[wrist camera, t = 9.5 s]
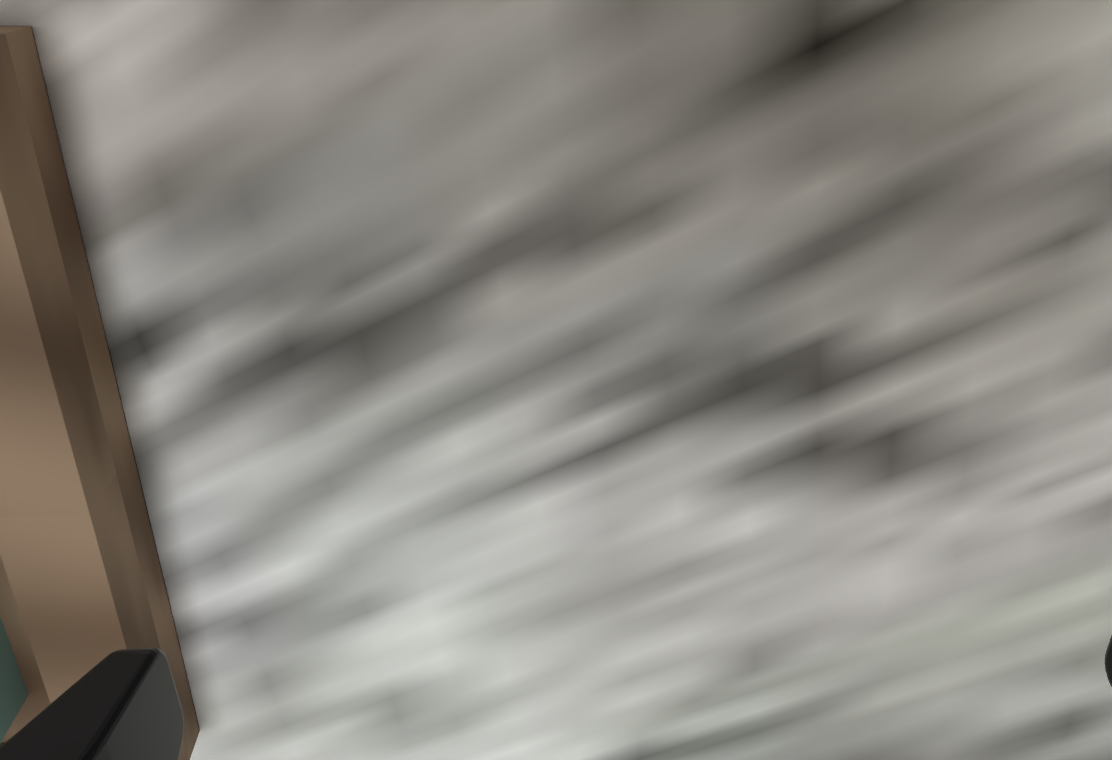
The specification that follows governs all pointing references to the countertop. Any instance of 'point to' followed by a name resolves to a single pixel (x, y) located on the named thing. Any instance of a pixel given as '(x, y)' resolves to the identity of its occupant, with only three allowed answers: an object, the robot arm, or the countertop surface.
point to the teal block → (9, 684)
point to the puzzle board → (63, 431)
